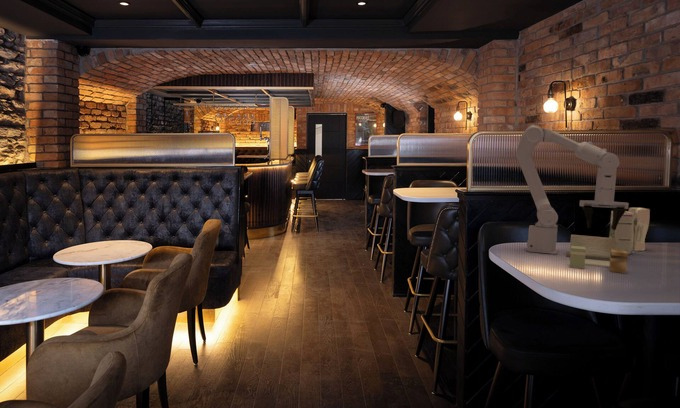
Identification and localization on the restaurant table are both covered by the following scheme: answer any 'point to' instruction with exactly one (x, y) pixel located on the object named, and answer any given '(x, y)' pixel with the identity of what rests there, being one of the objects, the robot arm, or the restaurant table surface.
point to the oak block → (618, 261)
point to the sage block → (577, 257)
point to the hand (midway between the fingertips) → (601, 228)
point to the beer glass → (639, 227)
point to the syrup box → (623, 231)
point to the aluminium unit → (594, 246)
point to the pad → (597, 263)
